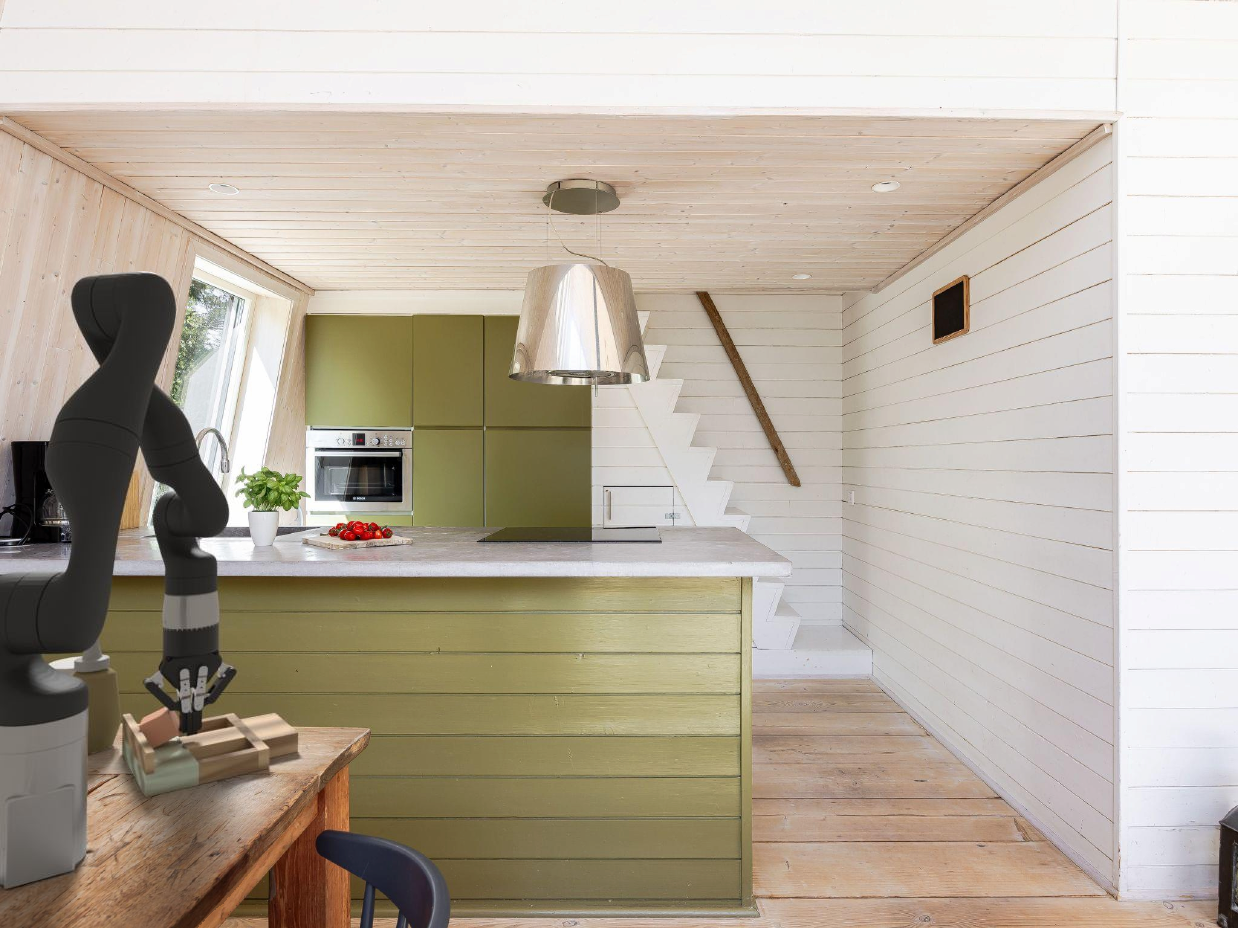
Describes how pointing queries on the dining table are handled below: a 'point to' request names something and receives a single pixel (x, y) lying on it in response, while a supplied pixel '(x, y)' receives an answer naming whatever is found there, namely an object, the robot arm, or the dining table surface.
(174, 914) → the dining table surface
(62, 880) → the dining table surface
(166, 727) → the block
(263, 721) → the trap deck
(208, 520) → the robot arm
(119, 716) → the squeeze bottle
